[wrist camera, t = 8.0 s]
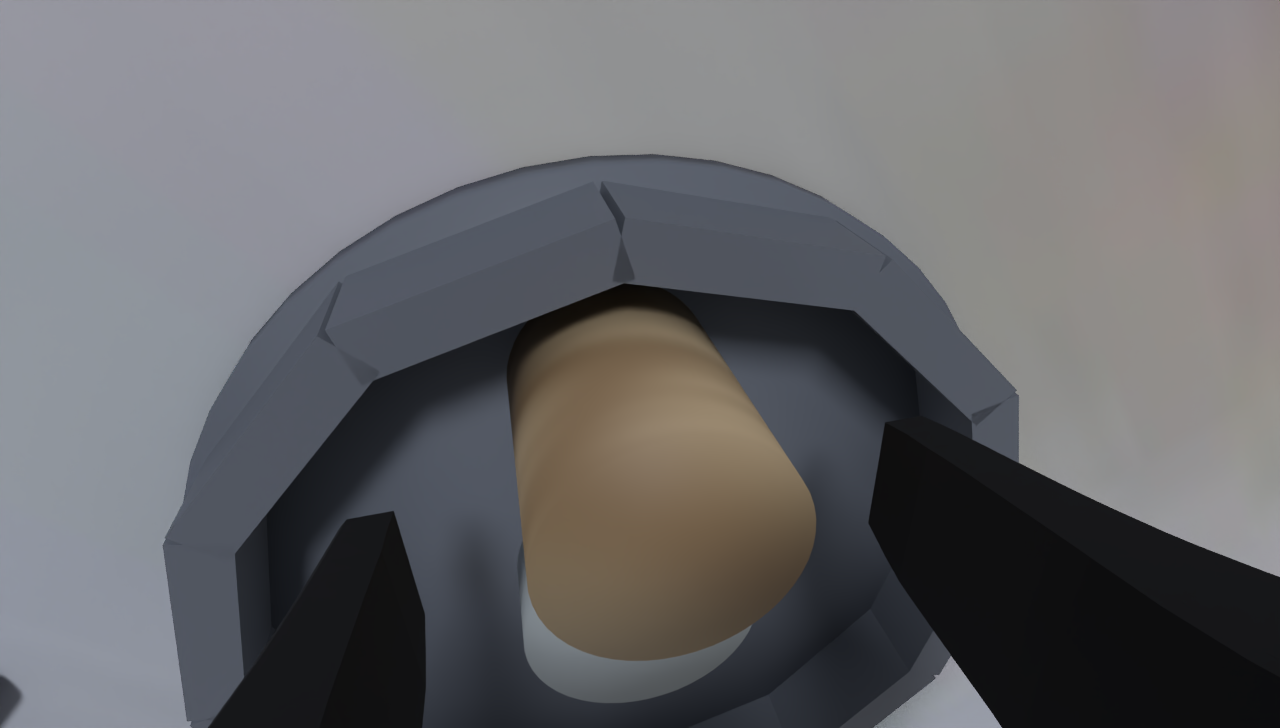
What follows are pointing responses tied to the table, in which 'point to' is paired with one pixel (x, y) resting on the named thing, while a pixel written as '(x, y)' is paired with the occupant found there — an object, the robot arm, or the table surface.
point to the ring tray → (484, 455)
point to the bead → (647, 481)
